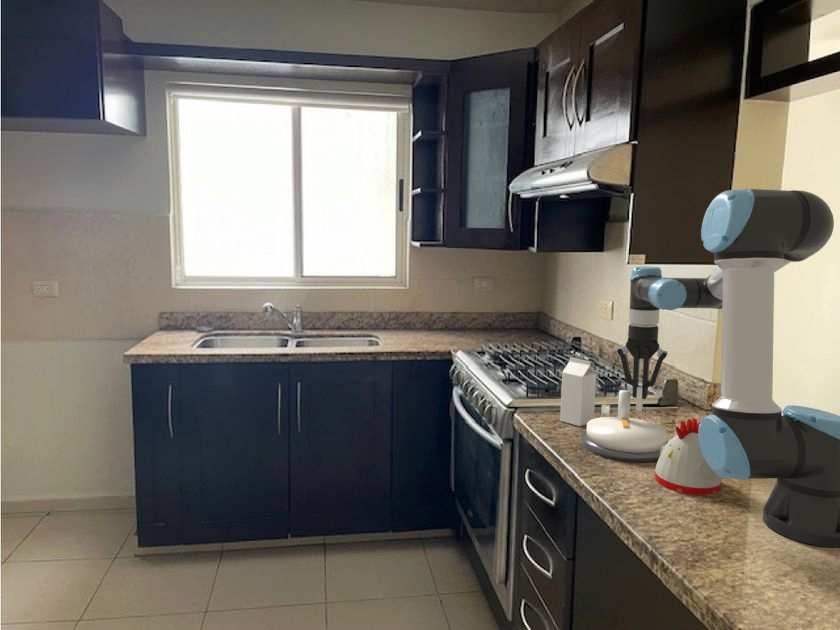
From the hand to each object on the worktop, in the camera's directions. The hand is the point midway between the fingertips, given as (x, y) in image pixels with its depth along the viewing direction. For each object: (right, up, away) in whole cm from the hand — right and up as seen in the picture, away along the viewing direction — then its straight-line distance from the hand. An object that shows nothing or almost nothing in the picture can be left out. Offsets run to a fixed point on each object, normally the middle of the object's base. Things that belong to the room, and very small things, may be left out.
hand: (639, 409), depth 167 cm
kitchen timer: (+1, -13, -27) cm, 30 cm away
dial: (-6, -7, -6) cm, 11 cm away
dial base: (-5, -9, -4) cm, 11 cm away
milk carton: (-13, -6, +16) cm, 21 cm away
